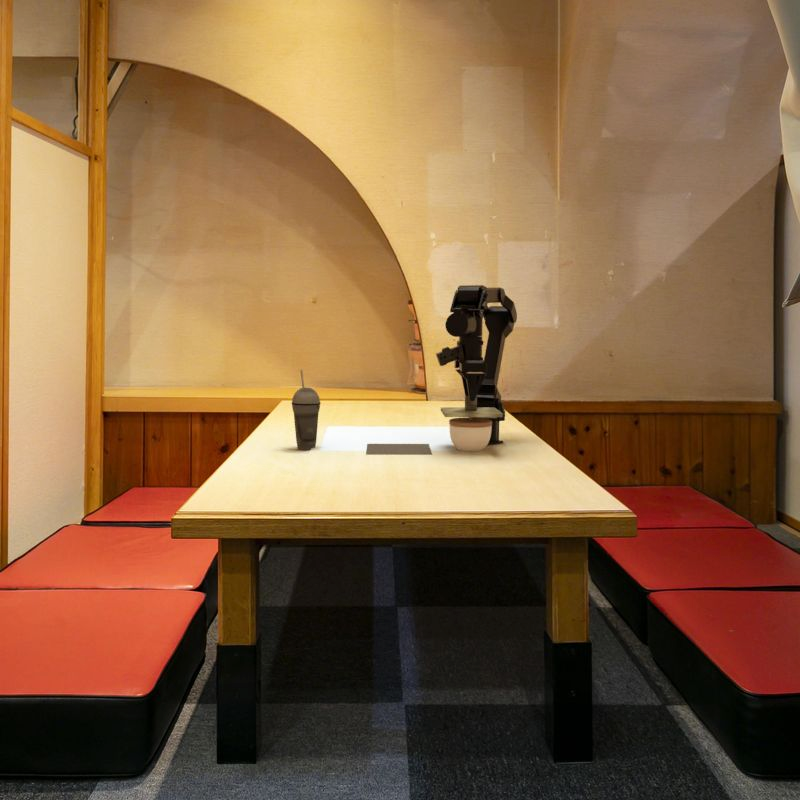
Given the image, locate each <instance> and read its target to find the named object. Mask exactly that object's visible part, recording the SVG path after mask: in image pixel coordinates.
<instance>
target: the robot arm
mask: <svg viewBox="0 0 800 800" xmlns="http://www.w3.org/2000/svg"><path fill="white" fill-rule="evenodd" d="M490 303H492V304H493V303H494V304H495V303H497V304H499V303H500V305H490V306H488V304H490ZM449 309H450V310H449V312H450V313H451V314H450V315H449V316H448V317H447V319H446V321H445V322H444V323H445V329H446V332H447V333H448V334H449V335H450V336H452V337H455V338H458V340H457V341H456V346H453V347H451V348H450V347H449V346H446V347H443V348H441V351H439V352H436V353H435V356H436V358H437V362H438V364H439V366H440V367H443V366H446V365H447V364H449V363H452V362H454V367H453V368H454V369H455V371H456V372H457V373H458V374H459V376H460V377H461V380H462V381H461V382H462V386H463V391H464V397H465V396H469V400H470V401H474V400H475V398H476V396H477V407H495V408H496V409H497V410H499V411H500V412H501V413H503V417H473V418H484V419H489V420H492V430H491V437H490V441H489V443H488V444H487V445H493V444H502V443H504V440H502V439H500V422H501V421H502V422H504V421H505V420H506V411H505V406H504V404H503V400H502V394H501V393H500V390H499V387H498V382H499V379H500V371H501V367H502V366H501V365H502V360H503V354H504V348H505V343H506V339H507V337H509V336H510V334H511V333H512V332H513V330H514V327H515V324H516V323H517V320H518V313H517V308H516V305H515V302H514V301H513V300H512V299H511V298H510V297H509V296H507V294H506V292H505V289H504V288H502V287H487V286H485V285H483V284H480V285H479V284H477V285H475V284H474V285H469V284H468V285H465V284H464V285H462V284H461V285H459V286H458V287H457V289H456V290H455V292H454V295H453V298H452V302H451V306H450V308H449ZM483 319H484V323H483ZM483 324H485V328H486V330H487V331H488V335H487V341H486V345H485V346H486V347H485V354H484V357H483V346H484V340H483Z"/></svg>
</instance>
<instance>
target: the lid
mask: <svg viewBox="0 0 800 800" xmlns="http://www.w3.org/2000/svg"><path fill="white" fill-rule="evenodd" d="M440 412H441V413H442V415H443V416H444V418H469V417H503V413H501V412H500V411H499V410H497V409H496V408H495V407H477V396H476V398H475V400H474V401H470V400H469V396H465V395H464V407H460V406H459V407H456V406H455V407H446V406H445V407H442V406H441V407H440Z"/></svg>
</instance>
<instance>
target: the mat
mask: <svg viewBox="0 0 800 800" xmlns="http://www.w3.org/2000/svg"><path fill="white" fill-rule="evenodd" d="M365 455H369V456H370V455H373V456H374V455H375V456H377V455H379V456H380V455H381V456H382V455H386V456H389V455H391V456H392V455H396V456H397V455H399V456H401V455H402V456H404V455H405V456H407V455H408V456H411V455H413V456H414V455H415V456H417V455H418V456H422V455H423V456H425V455H427V456H428V455H430V456H431V455H433V453H432V449H431V446H430V443H367V444H366V452H365Z"/></svg>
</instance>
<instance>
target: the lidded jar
mask: <svg viewBox="0 0 800 800" xmlns="http://www.w3.org/2000/svg"><path fill="white" fill-rule="evenodd" d="M448 422H449V423H448V424H449V436H450V440H451V443H452V444H453V446H454V447H455V448H456V449H457V450H459V451H462V452H481V451H483V450H484V449H485V448H487V446H488V445H489V444H488V443H489V441H490V437H491V430H492V420H489V419H484V418H473V417H453V418H450V419H449V420H448Z"/></svg>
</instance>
